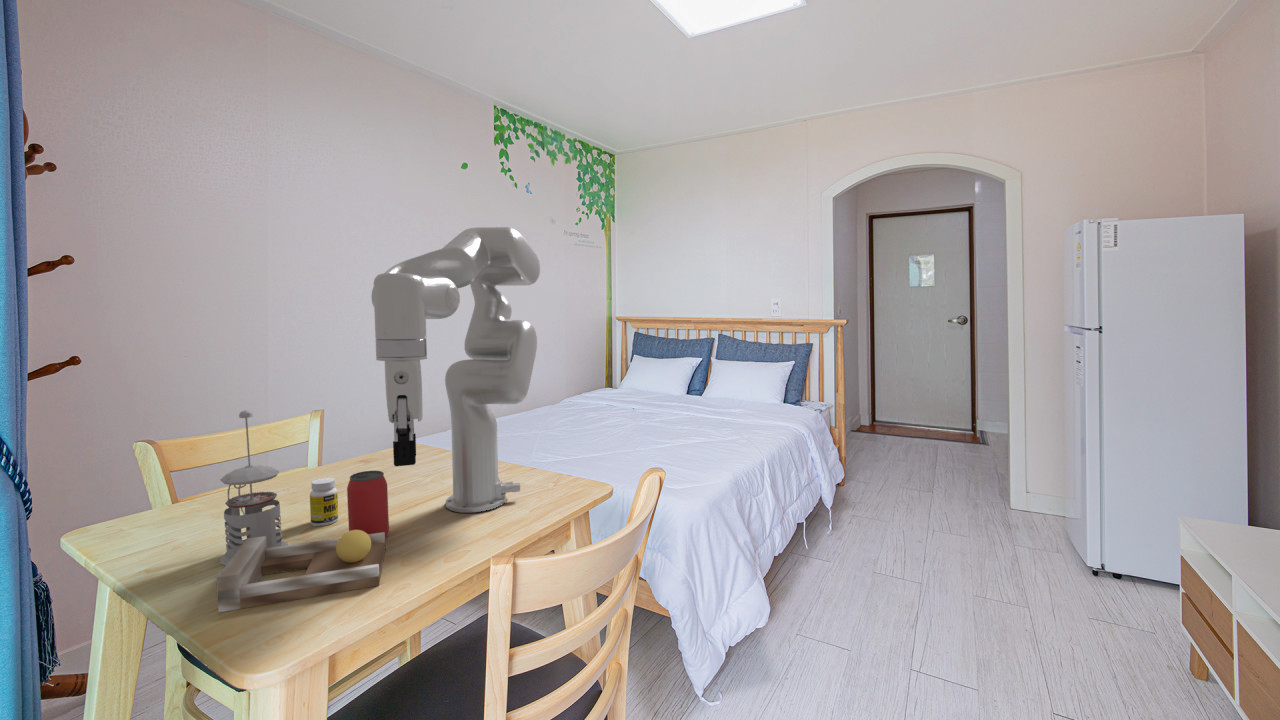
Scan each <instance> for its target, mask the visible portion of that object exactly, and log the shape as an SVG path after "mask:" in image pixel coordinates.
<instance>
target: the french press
mask: <svg viewBox="0 0 1280 720" xmlns="http://www.w3.org/2000/svg"><path fill="white" fill-rule="evenodd" d="M252 417H254V412H252V411H251V410H249V409H247V410H242V411H240V412H239V415H238V418H239V419H245V433H246V434H245V435H246V448H247V462H248V464H247V465H246V466H242V467H239V468H236V469H234V470H232V471H229V472H228V473H226V474H225V475H224V476H222V478H221V479H219V481H220V482H221V483H223V484H224V485H228V489H227V500H226V501H225V505H226V506H227V507H228V508H225V510H224V511H223V519H224V527H225V529H224V531H225V533H224V534H225V542H226V543H225V546H226V552H225V553H224V554H223V555H222V556H221V557H220V559H219V562H220V564H221V565H223V566H226V565H227V564H228V563H229V561H230V560H231V559H232V558H233V556H234V555H235V554H236V552H237V551H238V550H239V549H240V547H241V546H242V545H243V544H244V542H245V541H246V540H247V539H248V538H255V537H263V536H266V545H267V548H270V547H277V546H285V545H289V544H288V543H287V542H286V541H285V540H283V536H282V523H281V522H282V521H281V520H282V518H281V503H280V501H279V500H277V499H276V498H277V496H278V494H277V493H276V492H274V491H256V492H253V485H252V484H256V483H263V482H265V481H269V480H272V479H273V478H276V477H277V476H278V474H279V473H280V471H279V470H277V469H276V468H275V467H274V468H273V467H271V466H267V465H258V464H257V465H255V464H251V458H250V457H251V456H250V440H249V427H248V426H249V425H248V418H252ZM246 485H249V490H250V491H249V492H248V493H244V494H241V489H243V488H245V487H246ZM231 486H233V488H234V489H237V491H238V492H237V493H238V494H237V495H236V496H233V497H231V498H230V490H231ZM237 486H238V487H237ZM270 506H274V507H271V508H268V509H266V510H265V509H264V508H265V507H270ZM263 509H264V510H263ZM241 512H242V514H241ZM242 529H245V531H244V532H242ZM243 537H246V538H245V539H243Z"/></svg>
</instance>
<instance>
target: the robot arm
mask: <svg viewBox="0 0 1280 720" xmlns="http://www.w3.org/2000/svg"><path fill="white" fill-rule="evenodd" d="M540 263H541V262H540V260H539V257H538V254H537V253H536V251H535V250H534V249H533V247H532V246H531V245H530V243H529V242H528V240H527V239H526V238H525V237H524V236H523V235H522V234H521V233H520V232H519V231H517V230H516V229H515V228H513V227H507V226H500V227H499V226H496V227H494V226H493V227H492V226H491V227H487V226H486V227H470V228H466V229H464V230H462V231H461V232H460V233H458V234H457V236H455V237H454V238H453V239H451V240H450V241H449V242H448V243H447V244H445V245H444V246H443V247H442V248H440V249H437V250H434V251H430V252H426V253H424V254H421V255H418V256H415V257H411V258H409V259H406V260H404V261H401V262H399V263H397V264H395V265H393V266H391V267H390V268H388V269H387V270H386V271H385V272H384V273H380V274H377V275H376V276H375V278H374V279H373V280H374V281H373V287H372V290H371V295H370V296H371V304H372V306H373V309H374V335H375V359H376V361H379V362H380V361H381V362H384V378H385V379H384V381H385V396H386V407H387V414H388V415H387V416H388V422H389V423H392V424H393V432H394V433H393V439H394V440H393V441H392V448H393V450H392V451H393V465H394V467H405V466H414V465H416V463H417V462H416V459H417V458H416V457H417V442H416V441H417V439H416V436H417V435H416V433H415V427H414V426H415V425H414V424H415V421H414V420H417V423H418V422H421V421H422V420H423V387H422V386H423V382H422V380H423V379H422V366H421V365H422V364H421V361H422V360H427V359H428V356H427V355H428V352H427V351H428V350H427V347H428V346H427V320H442V319H447V318H448V317H449V318H450V317H451V316H453V315H454V314H455V313H456V312H457V310H458V308H459V306H460V304H461V303H460V301H461V300H460V299H461V295H460V292H459V289H461V288H464V287H467V286H468V285H470V289H471V292H472V296H473V300H474V306H473V311H472V314H471V318H470V322H469V324H468V328H467V331H466V335H465V339H464V351H465V354H466V356H468V358H470V359H463V360H462V359H461V360H458V361H455V362H454V363H452V364H451V365H450V366H449V367H448V368H447V370H446V372H445V376H444V377H445V379H444V382H445V383H444V384H445V390H446V395H447V399H448V403H449V411H450V421H451V422H450V424H451V456H452V457H451V460H452V461H451V462H452V466H451V467H452V468H451V469H452V495H450V496H448V497H447V498H446V499H445V508H447V509H448V510H449V511H452V512H455V513H463V514H466V513H471V514H472V513H481V511H482V512H487V511H491V510H493V508H494V509H497V508H499V507H501V506H502V505H503V504H505V503H506V501H505V500H507V496H506V493H507V494H508V493H518V492H521V484H520V483H521V482H514V483H513V481H506V482H502V481H501V480H500V479H499V461H498V460H499V458H498V457H499V456H498V455H499V453H498V448H499V447H498V422H497V419H496V416H495V415H494V413H493V412H492V410H491V408H490V407H489V406H488V405H517V404H521V403H522V402H524V401H525V399H526V397H527V395H528V393H529V388H530V385H531V384H530V383H531V379H532V374H533V370H534V365H535V359H536V356H537V348H538V337H537V331H536V329H535V326H533V324H531V322H529V321H526V320H520V319H511V316H512V306H511V304H510V302H509V300H508V299H507V298H506V296H505V295H504V294H503V293H502V292H501V291H499V289H498V288H497V286H507V287H508V286H515V287H516V286H531V285H533V284H536V282H537V281H538V279H539V277H540V273H541V264H540ZM504 502H505V503H504ZM501 504H502V505H501ZM500 505H501V506H500ZM498 506H499V507H498ZM496 507H497V508H496ZM490 509H491V510H490ZM486 510H487V511H486Z"/></svg>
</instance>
